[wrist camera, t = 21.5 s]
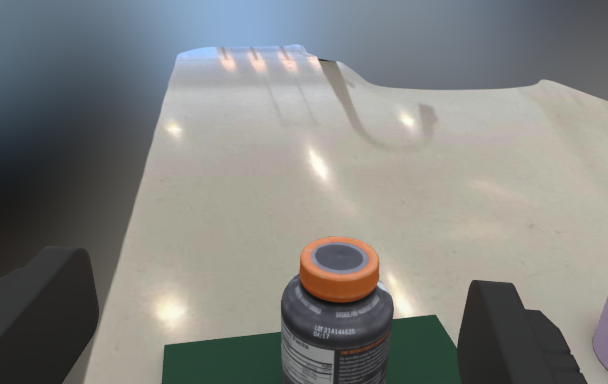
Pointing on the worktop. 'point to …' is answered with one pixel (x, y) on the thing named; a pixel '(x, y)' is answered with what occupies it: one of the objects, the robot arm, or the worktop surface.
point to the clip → (602, 337)
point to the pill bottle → (336, 316)
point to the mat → (267, 354)
